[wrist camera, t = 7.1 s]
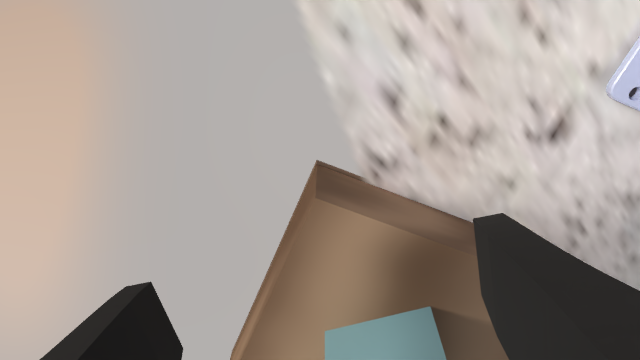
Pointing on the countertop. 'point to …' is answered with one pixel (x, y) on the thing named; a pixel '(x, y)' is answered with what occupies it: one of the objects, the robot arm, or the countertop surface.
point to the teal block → (387, 339)
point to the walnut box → (366, 273)
